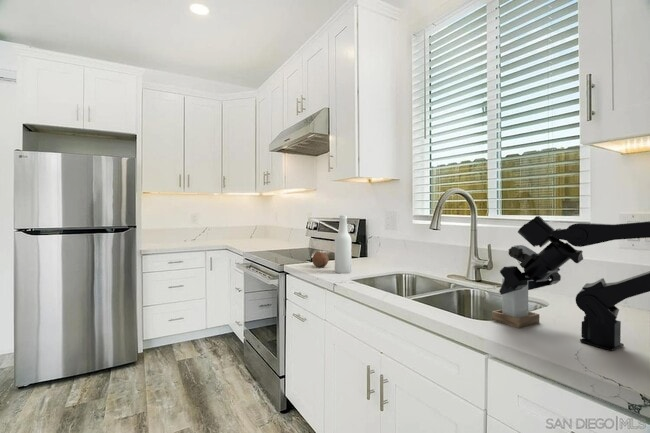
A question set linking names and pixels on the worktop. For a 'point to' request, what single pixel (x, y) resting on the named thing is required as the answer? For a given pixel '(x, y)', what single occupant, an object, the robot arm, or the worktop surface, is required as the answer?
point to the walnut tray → (516, 319)
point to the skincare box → (515, 302)
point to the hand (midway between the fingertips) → (511, 291)
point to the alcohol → (343, 247)
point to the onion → (320, 259)
